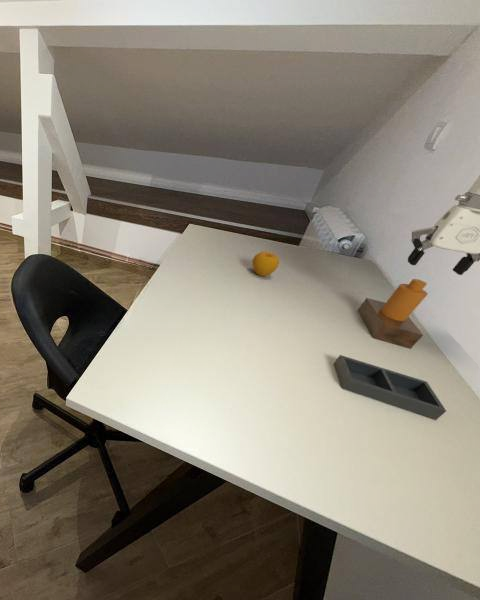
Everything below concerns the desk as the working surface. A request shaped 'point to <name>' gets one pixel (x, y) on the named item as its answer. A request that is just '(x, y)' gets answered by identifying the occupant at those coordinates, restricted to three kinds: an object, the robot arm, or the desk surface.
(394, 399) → the grey divided tray
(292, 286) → the desk surface
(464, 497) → the desk surface
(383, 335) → the wooden block
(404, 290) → the bottle
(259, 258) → the apple
